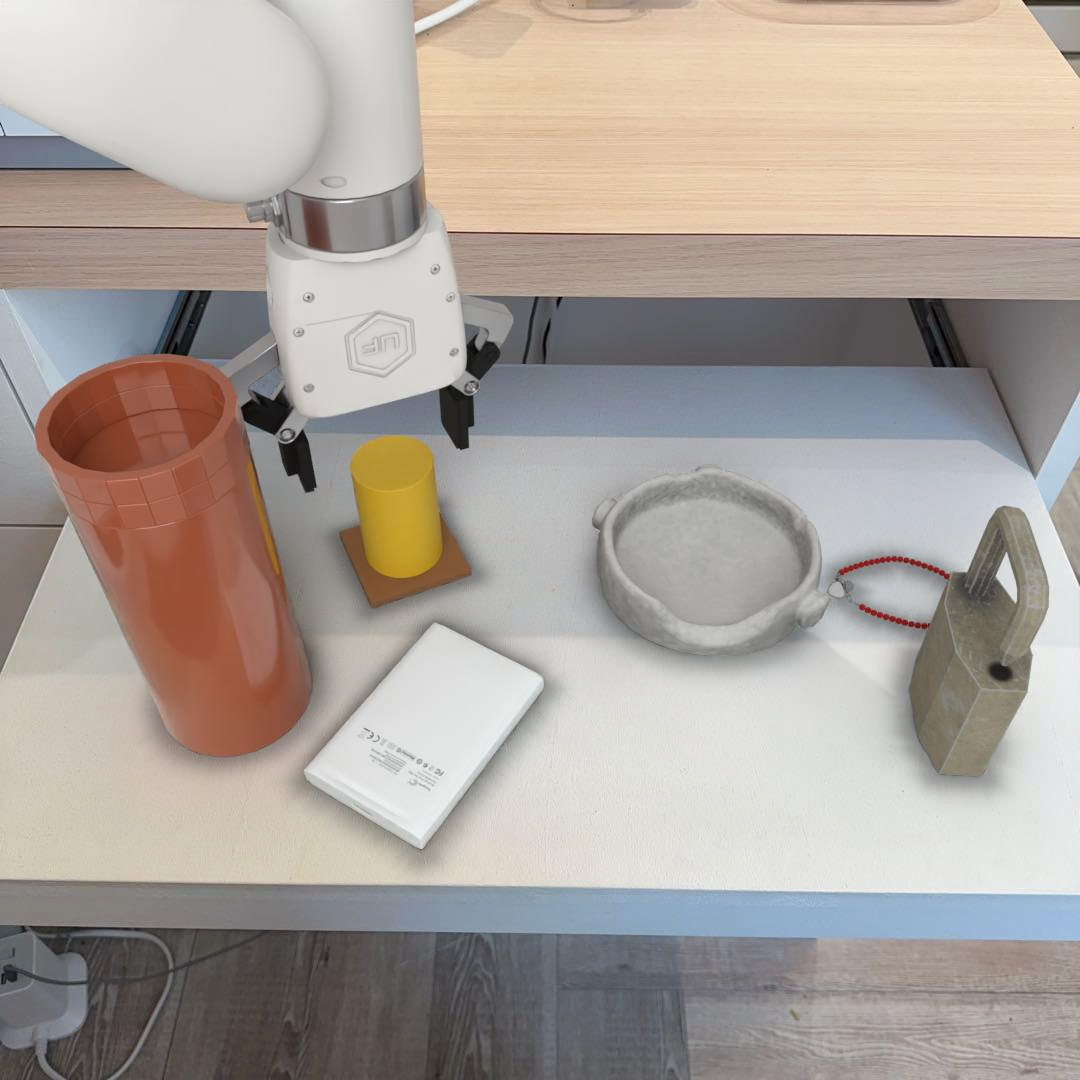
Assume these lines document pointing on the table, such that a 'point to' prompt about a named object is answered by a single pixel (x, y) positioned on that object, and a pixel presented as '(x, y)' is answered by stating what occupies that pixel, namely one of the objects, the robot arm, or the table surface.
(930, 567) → the necklace
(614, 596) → the dish
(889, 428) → the table surface
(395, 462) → the yellow cylinder
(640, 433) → the table surface
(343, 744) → the hard drive
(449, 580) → the mat
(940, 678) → the padlock
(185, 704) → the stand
